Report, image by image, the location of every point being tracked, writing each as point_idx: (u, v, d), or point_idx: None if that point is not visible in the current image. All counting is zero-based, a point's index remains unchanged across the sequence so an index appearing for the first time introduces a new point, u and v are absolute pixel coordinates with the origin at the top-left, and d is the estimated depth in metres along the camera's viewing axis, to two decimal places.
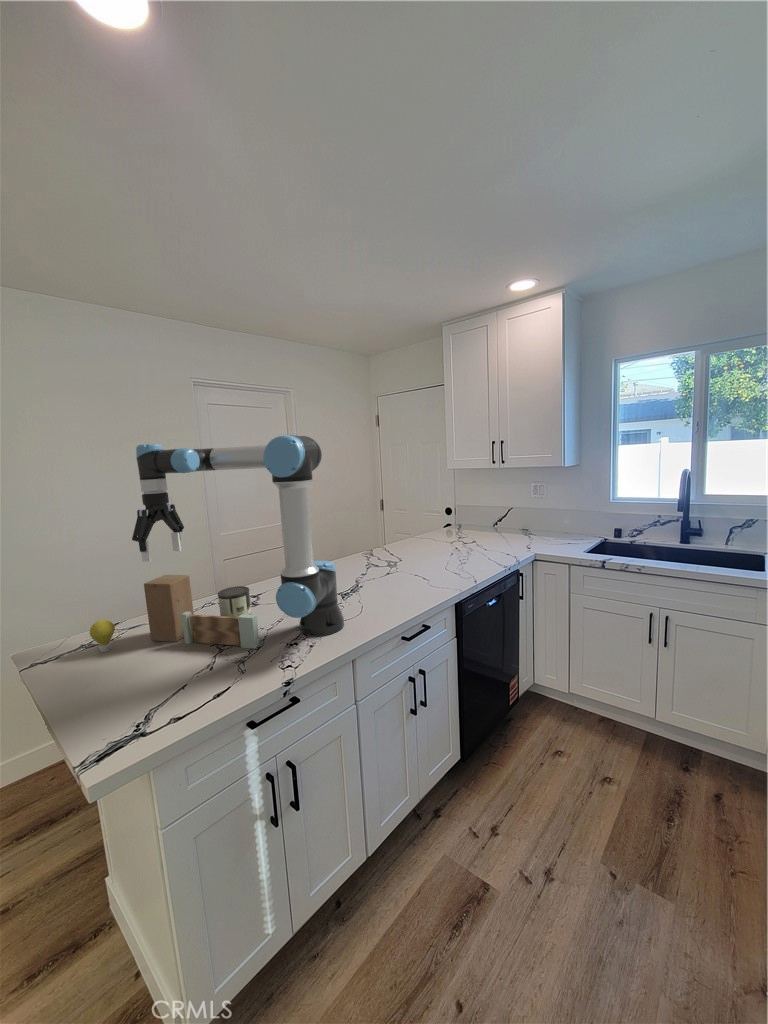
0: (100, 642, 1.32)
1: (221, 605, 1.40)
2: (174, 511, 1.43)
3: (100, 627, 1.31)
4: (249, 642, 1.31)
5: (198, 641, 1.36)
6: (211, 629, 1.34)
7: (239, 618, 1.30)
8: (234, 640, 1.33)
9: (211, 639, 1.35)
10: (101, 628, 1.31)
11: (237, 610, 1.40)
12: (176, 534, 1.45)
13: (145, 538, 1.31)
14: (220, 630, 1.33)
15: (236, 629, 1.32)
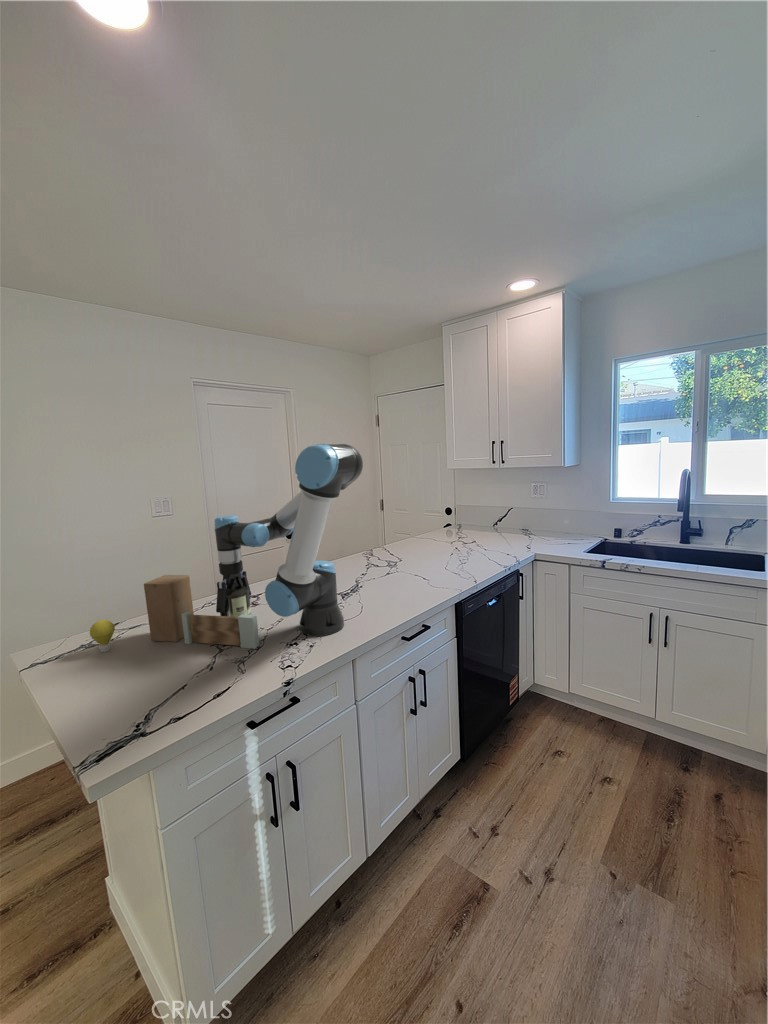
0: (100, 642, 1.32)
1: None
2: (245, 578, 1.49)
3: (100, 627, 1.31)
4: (249, 642, 1.31)
5: (198, 641, 1.36)
6: (211, 629, 1.34)
7: (239, 618, 1.30)
8: (234, 640, 1.33)
9: (211, 639, 1.35)
10: (101, 628, 1.31)
11: (237, 609, 1.40)
12: None
13: (227, 609, 1.38)
14: (220, 630, 1.33)
15: (236, 629, 1.32)
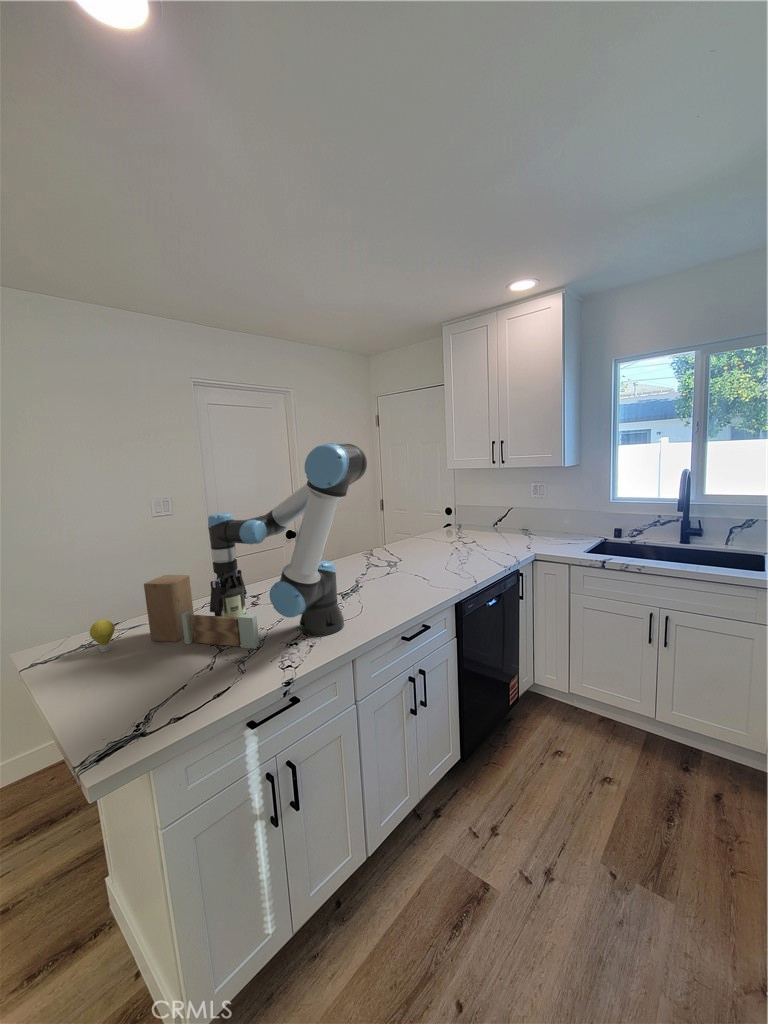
0: (100, 642, 1.32)
1: None
2: (240, 577, 1.46)
3: (100, 627, 1.31)
4: (249, 642, 1.31)
5: (198, 641, 1.36)
6: (211, 629, 1.34)
7: (239, 618, 1.30)
8: (233, 641, 1.32)
9: (210, 639, 1.35)
10: (101, 628, 1.31)
11: (231, 609, 1.37)
12: None
13: (221, 609, 1.35)
14: (219, 630, 1.33)
15: (235, 629, 1.31)
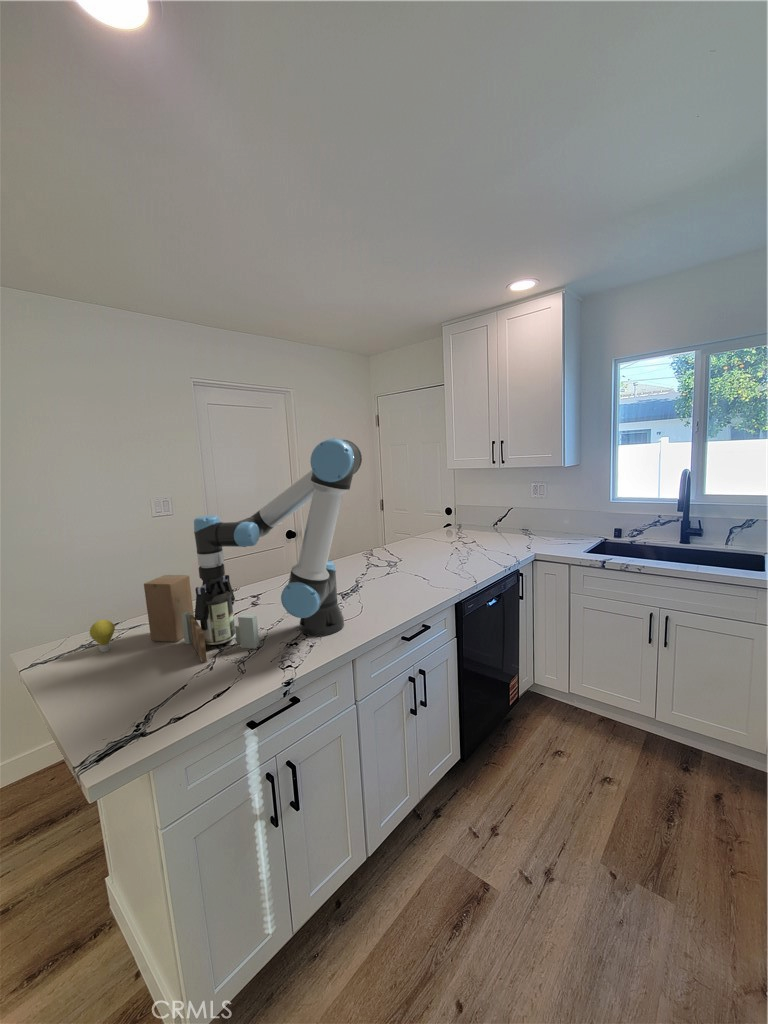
0: (100, 642, 1.32)
1: None
2: (228, 582, 1.39)
3: (100, 627, 1.31)
4: (249, 642, 1.31)
5: (193, 643, 1.35)
6: (194, 635, 1.30)
7: (239, 618, 1.30)
8: (200, 655, 1.24)
9: (195, 645, 1.31)
10: (101, 628, 1.31)
11: (217, 617, 1.31)
12: None
13: (206, 616, 1.29)
14: (196, 639, 1.27)
15: (200, 644, 1.22)
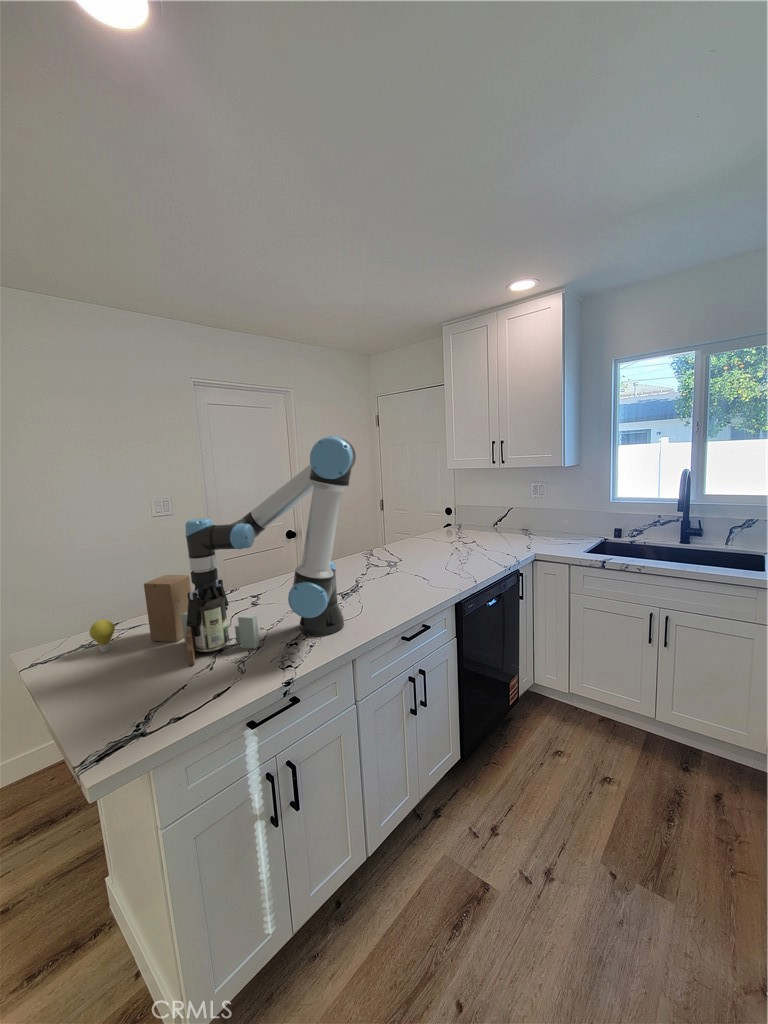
0: (100, 642, 1.32)
1: None
2: (221, 587, 1.35)
3: (100, 627, 1.31)
4: (249, 642, 1.31)
5: None
6: None
7: (239, 618, 1.30)
8: None
9: None
10: (101, 628, 1.31)
11: (210, 623, 1.27)
12: None
13: (199, 622, 1.25)
14: None
15: (187, 647, 1.21)
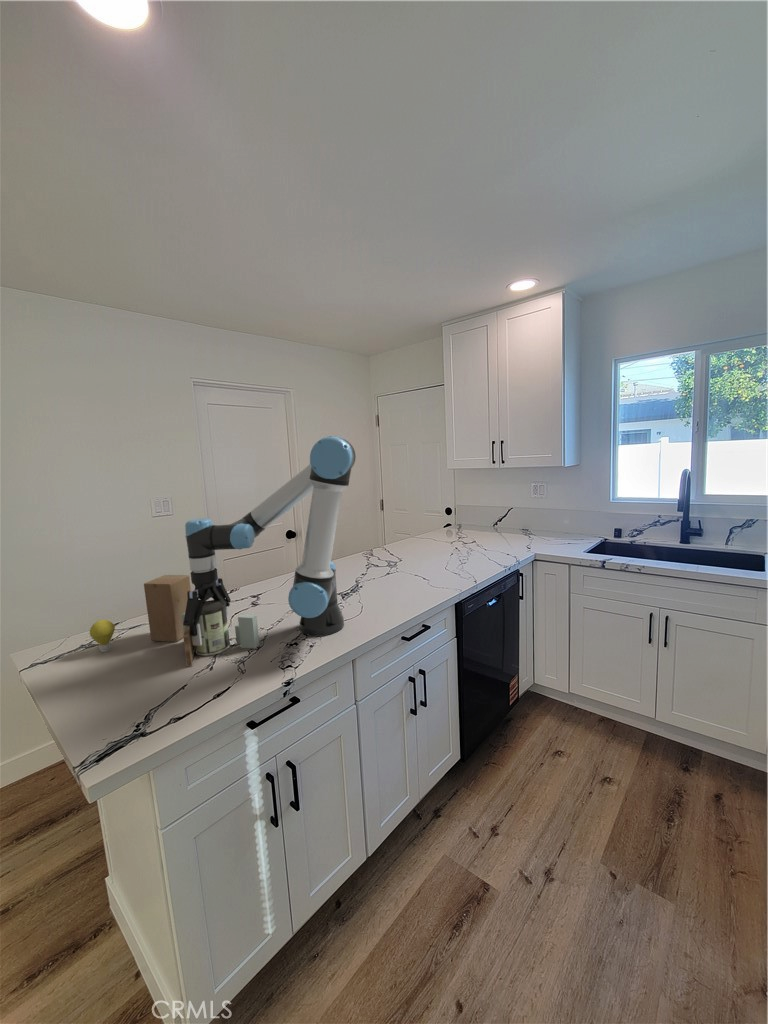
0: (100, 642, 1.32)
1: None
2: (222, 585, 1.36)
3: (100, 627, 1.31)
4: (249, 642, 1.31)
5: None
6: None
7: (239, 618, 1.30)
8: None
9: None
10: (101, 628, 1.31)
11: (211, 627, 1.27)
12: None
13: (196, 622, 1.23)
14: None
15: (185, 647, 1.21)
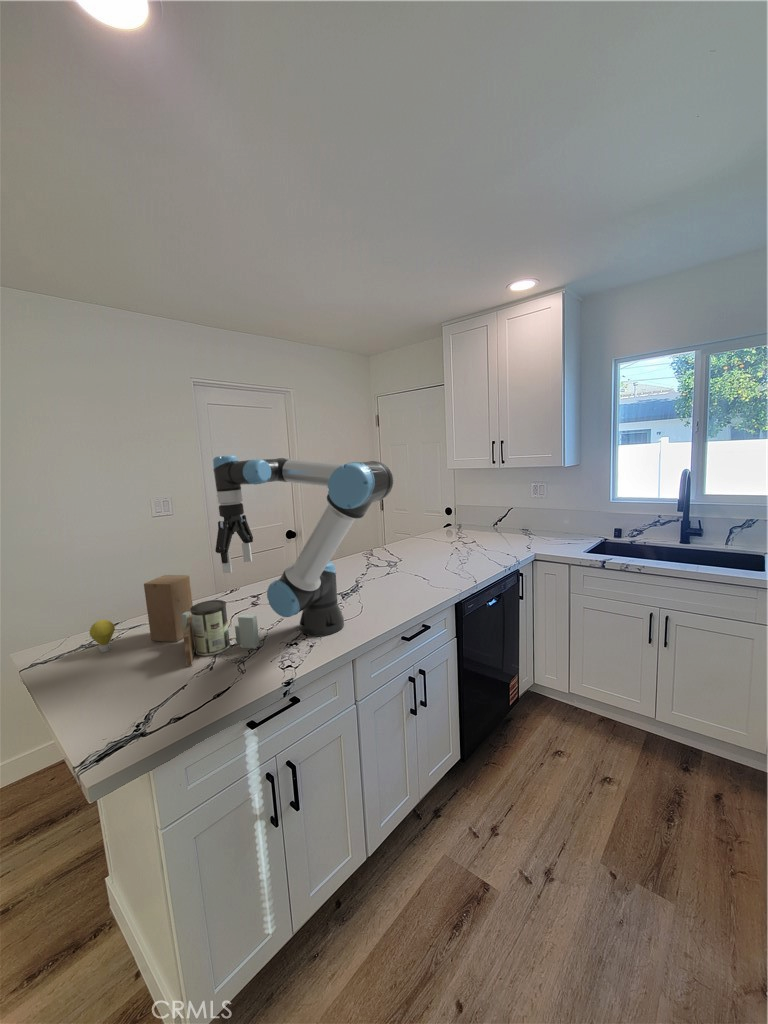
0: (100, 642, 1.32)
1: (193, 622, 1.27)
2: (245, 522, 1.44)
3: (100, 627, 1.31)
4: (249, 642, 1.31)
5: None
6: None
7: (239, 618, 1.30)
8: None
9: None
10: (101, 628, 1.31)
11: (211, 627, 1.27)
12: (247, 545, 1.45)
13: (227, 549, 1.31)
14: None
15: None
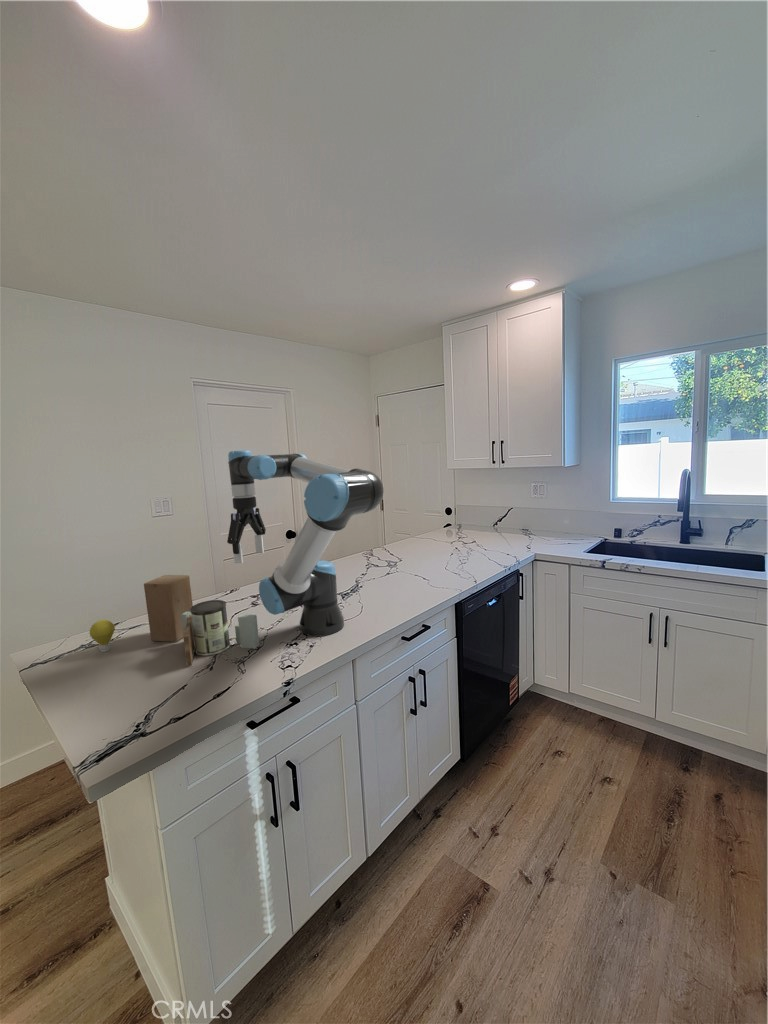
0: (100, 642, 1.32)
1: (193, 622, 1.27)
2: (258, 514, 1.49)
3: (100, 627, 1.31)
4: (249, 642, 1.31)
5: None
6: None
7: (239, 618, 1.30)
8: None
9: None
10: (101, 628, 1.31)
11: (211, 627, 1.27)
12: (260, 537, 1.50)
13: (238, 541, 1.36)
14: None
15: None
